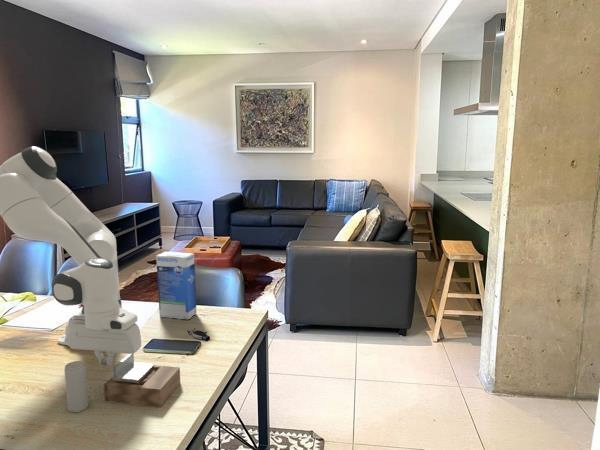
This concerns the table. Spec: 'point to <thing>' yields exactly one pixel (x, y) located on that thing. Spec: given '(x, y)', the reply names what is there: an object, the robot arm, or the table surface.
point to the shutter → (131, 370)
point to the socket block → (145, 387)
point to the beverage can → (76, 386)
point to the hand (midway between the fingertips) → (106, 364)
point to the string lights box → (176, 285)
